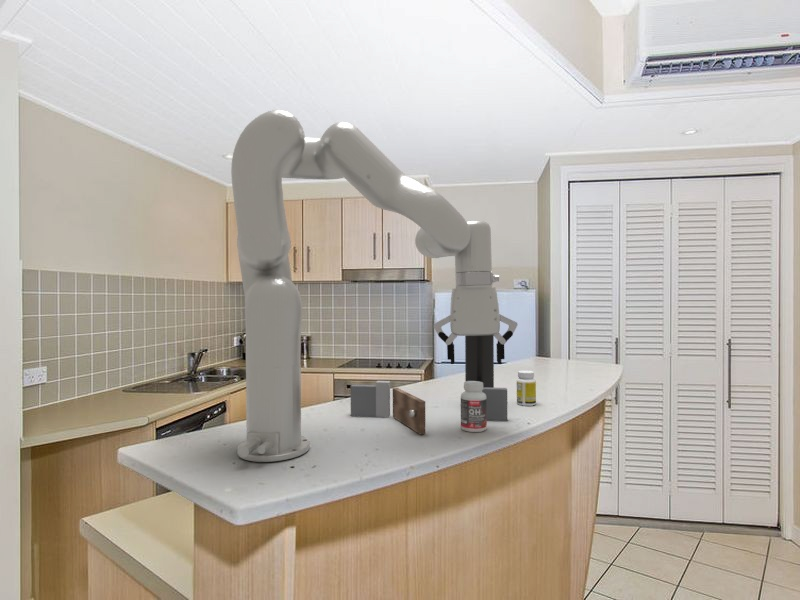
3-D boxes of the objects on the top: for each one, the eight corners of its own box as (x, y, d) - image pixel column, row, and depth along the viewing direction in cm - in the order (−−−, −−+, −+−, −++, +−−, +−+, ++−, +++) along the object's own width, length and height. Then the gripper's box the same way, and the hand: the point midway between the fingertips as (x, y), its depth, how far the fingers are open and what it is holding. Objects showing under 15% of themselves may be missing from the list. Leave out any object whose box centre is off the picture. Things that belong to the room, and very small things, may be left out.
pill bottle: (470, 434, 91) (470, 385, 91) (455, 427, 96) (455, 381, 96) (492, 430, 94) (491, 383, 94) (476, 424, 98) (475, 379, 98)
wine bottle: (478, 402, 118) (478, 288, 118) (495, 406, 114) (495, 287, 114) (463, 406, 115) (463, 287, 115) (480, 410, 110) (480, 287, 110)
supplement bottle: (538, 403, 117) (538, 371, 117) (533, 407, 113) (532, 373, 113) (519, 401, 120) (519, 369, 120) (514, 404, 116) (514, 372, 116)
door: (387, 416, 104) (387, 388, 104) (397, 415, 105) (397, 387, 105) (414, 435, 90) (414, 402, 90) (425, 433, 91) (425, 401, 91)
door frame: (507, 421, 101) (507, 385, 101) (350, 416, 105) (350, 381, 105) (506, 418, 103) (506, 383, 103) (352, 413, 107) (352, 380, 107)
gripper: (514, 280, 97) (516, 360, 97) (433, 283, 100) (435, 360, 100) (518, 279, 90) (520, 365, 90) (431, 282, 92) (433, 366, 92)
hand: (475, 363), depth 95 cm, fingers open, 9 cm apart
